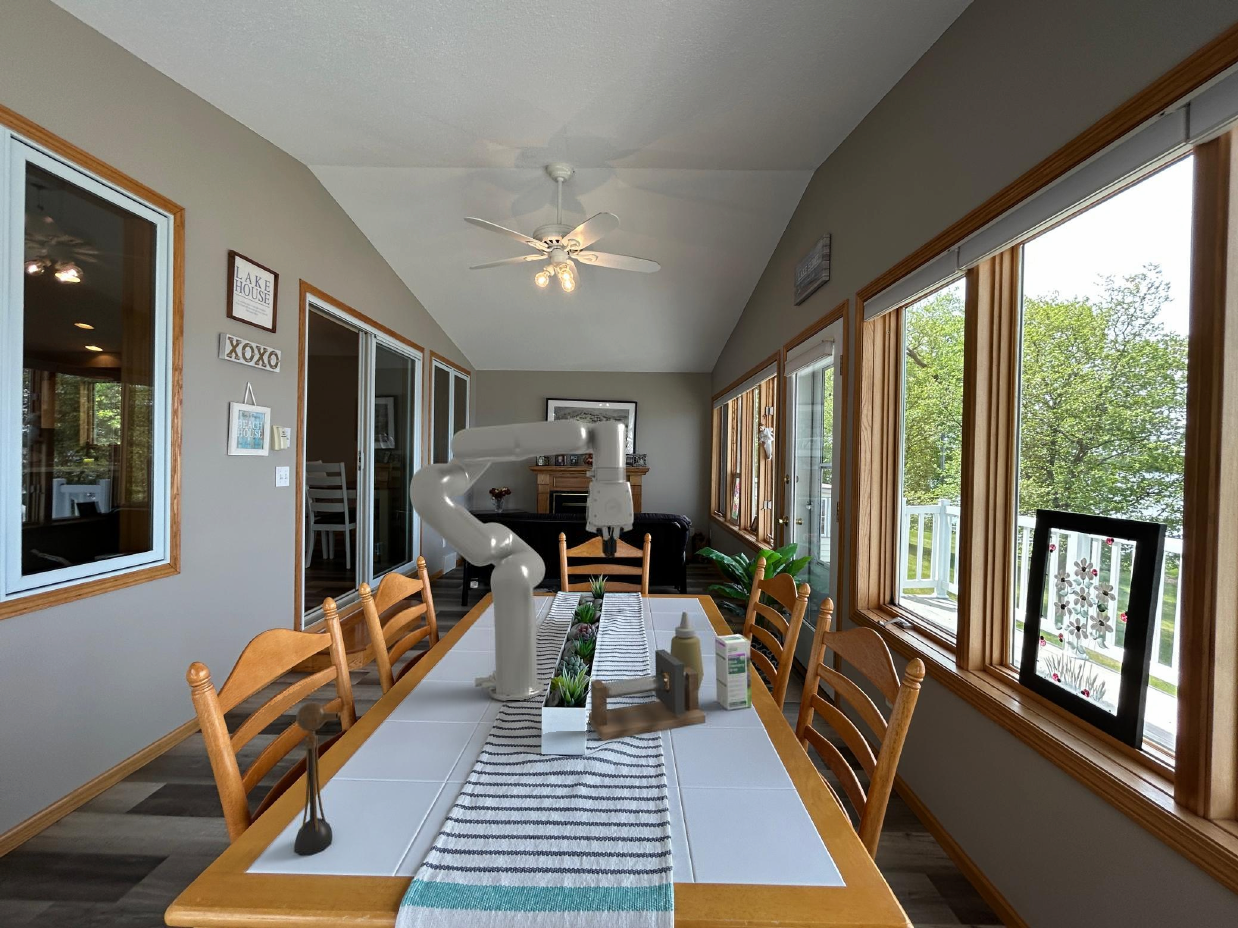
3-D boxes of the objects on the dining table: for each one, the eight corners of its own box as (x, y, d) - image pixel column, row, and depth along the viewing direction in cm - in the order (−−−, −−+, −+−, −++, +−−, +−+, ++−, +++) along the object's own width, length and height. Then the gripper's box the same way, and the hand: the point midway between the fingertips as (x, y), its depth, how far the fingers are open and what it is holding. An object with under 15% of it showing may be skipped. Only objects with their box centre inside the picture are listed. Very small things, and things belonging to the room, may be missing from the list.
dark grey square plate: (675, 715, 119) (674, 664, 119) (656, 696, 129) (655, 650, 129) (684, 713, 120) (683, 663, 120) (664, 695, 129) (663, 649, 129)
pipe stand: (602, 740, 114) (601, 693, 114) (587, 719, 123) (586, 675, 123) (705, 722, 121) (704, 677, 121) (684, 703, 131) (683, 662, 131)
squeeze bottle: (663, 693, 137) (662, 614, 137) (676, 681, 144) (675, 606, 144) (696, 699, 133) (695, 618, 133) (708, 686, 140) (707, 610, 140)
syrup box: (727, 710, 127) (726, 642, 127) (715, 700, 132) (714, 634, 132) (751, 707, 128) (750, 639, 128) (739, 697, 134) (738, 632, 134)
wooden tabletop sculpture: (345, 833, 87) (343, 695, 87) (331, 854, 82) (328, 708, 82) (304, 834, 86) (301, 696, 86) (287, 855, 82) (284, 709, 82)
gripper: (581, 476, 130) (581, 560, 130) (645, 476, 135) (646, 557, 135) (573, 475, 137) (573, 555, 137) (634, 475, 142) (634, 552, 142)
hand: (609, 556), depth 136 cm, fingers closed
